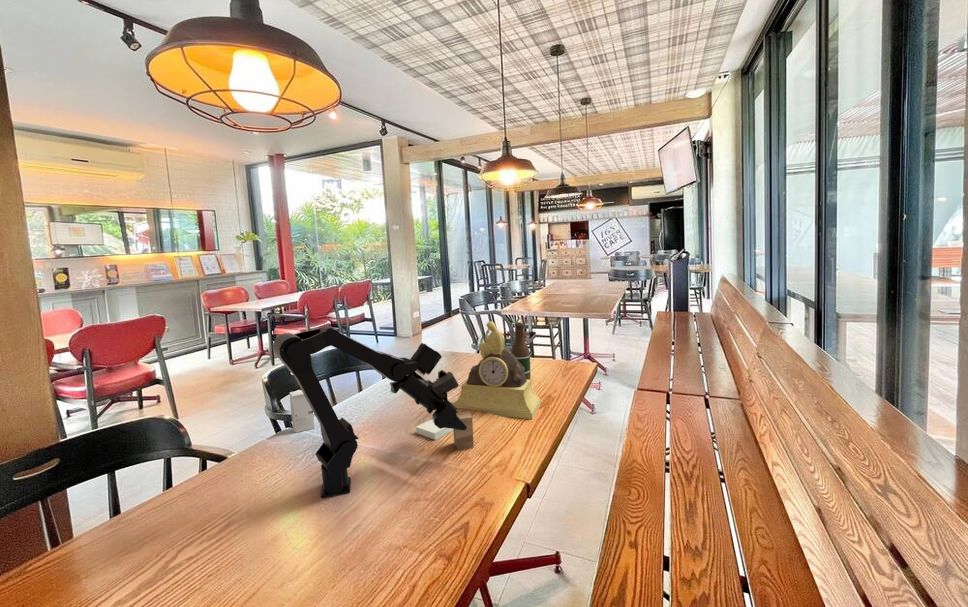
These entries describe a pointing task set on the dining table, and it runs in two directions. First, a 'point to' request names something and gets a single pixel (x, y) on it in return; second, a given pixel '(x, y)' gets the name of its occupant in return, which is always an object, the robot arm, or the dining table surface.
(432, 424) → the tower top block
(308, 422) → the skincare box
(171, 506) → the dining table surface
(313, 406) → the robot arm
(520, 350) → the beer bottle
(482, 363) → the decorative clock
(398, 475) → the dining table surface
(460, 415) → the walnut pillar
